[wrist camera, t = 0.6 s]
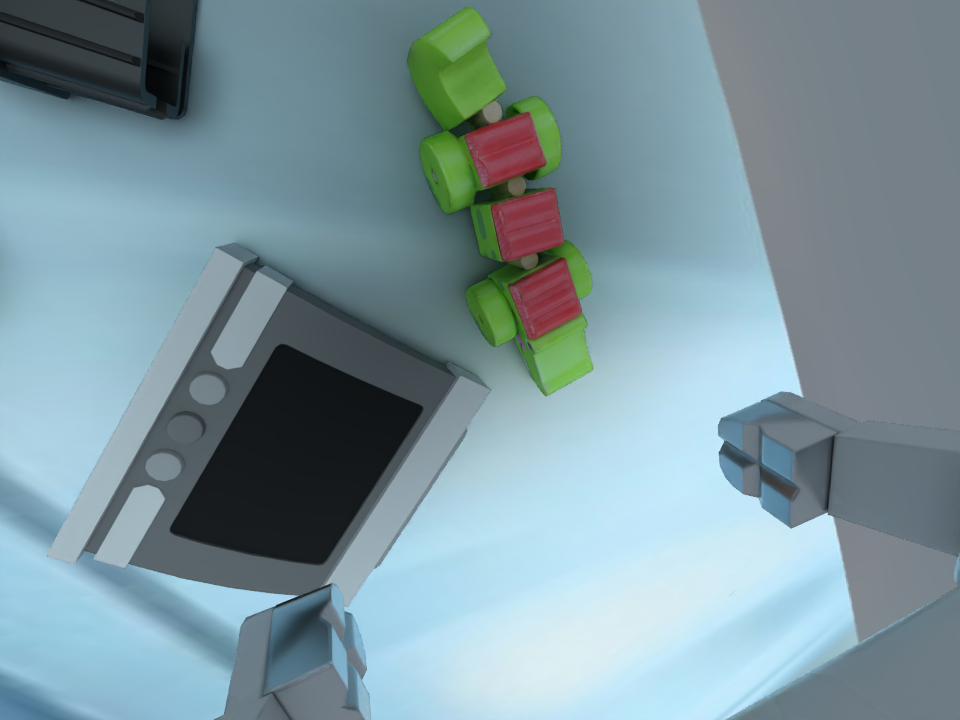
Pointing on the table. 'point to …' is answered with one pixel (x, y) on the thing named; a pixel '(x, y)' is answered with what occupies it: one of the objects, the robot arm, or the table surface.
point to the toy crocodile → (504, 200)
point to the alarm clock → (270, 442)
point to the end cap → (102, 51)
